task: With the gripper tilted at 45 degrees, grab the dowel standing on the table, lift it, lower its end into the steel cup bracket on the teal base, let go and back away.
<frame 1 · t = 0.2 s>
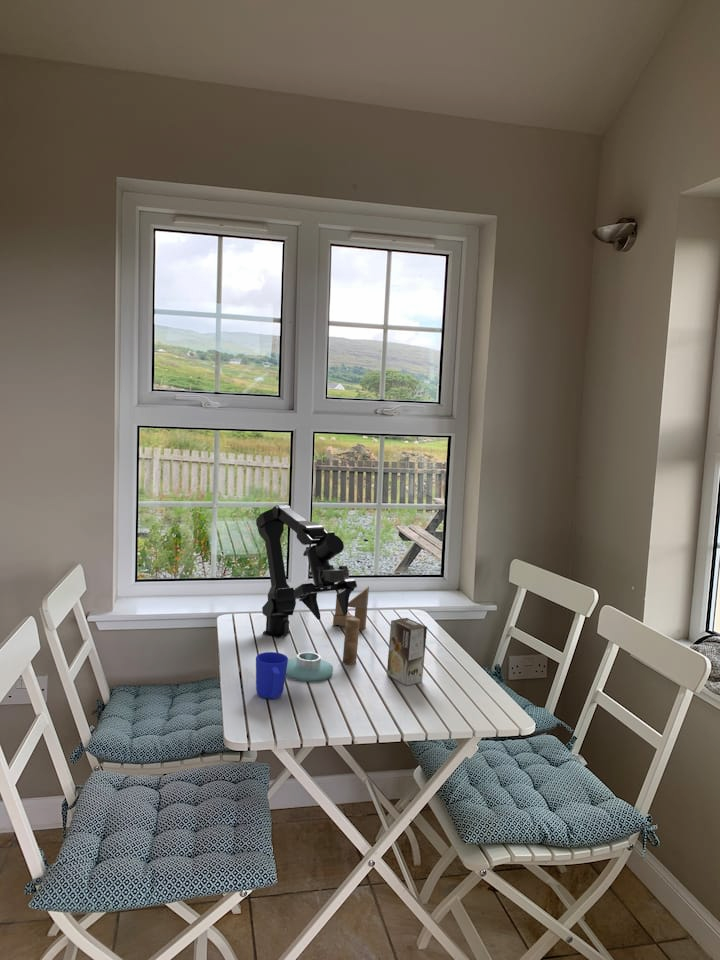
hand: (332, 617, 213), 15 cm above the table, tool tilted 35°, fingers open, 9 cm apart
coffee box: (404, 678, 211), on the table
mug: (270, 698, 191), on the table
dowel: (349, 662, 220), on the table
wooden block: (349, 626, 252), on the table
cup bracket: (307, 671, 210), on the table
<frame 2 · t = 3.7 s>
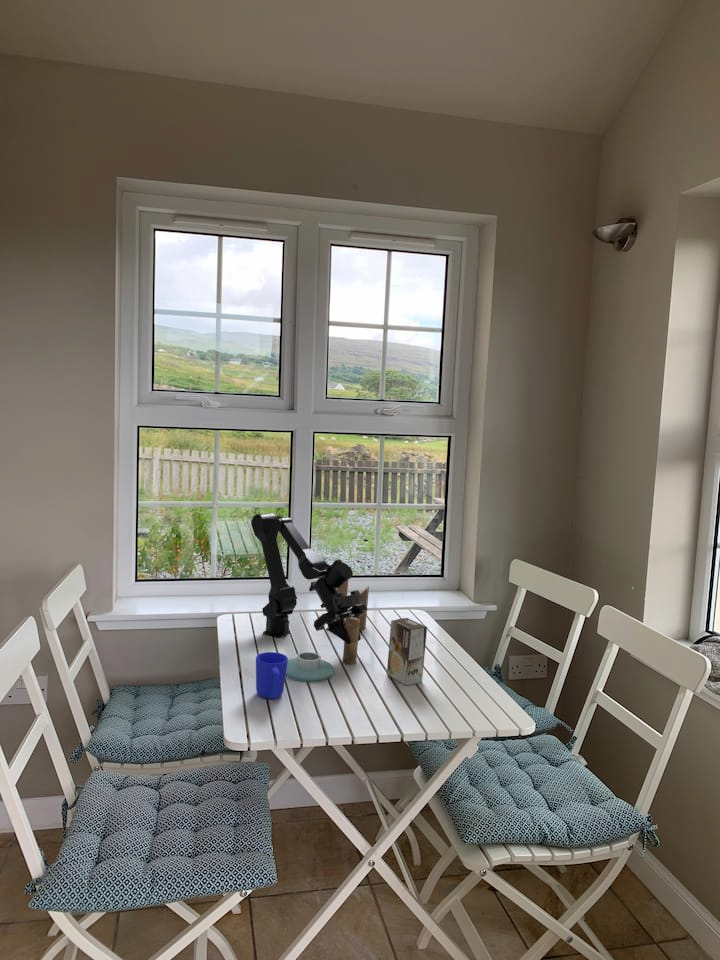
hand: (354, 641, 218), 7 cm above the table, tool tilted 45°, fingers closed on dowel, 4 cm apart
dowel: (349, 662, 220), on the table, touching gripper
everything else where it was.
when the fingers open (9 cm above the table, at t = 8.6 s): dowel stays where it is, resting on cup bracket.
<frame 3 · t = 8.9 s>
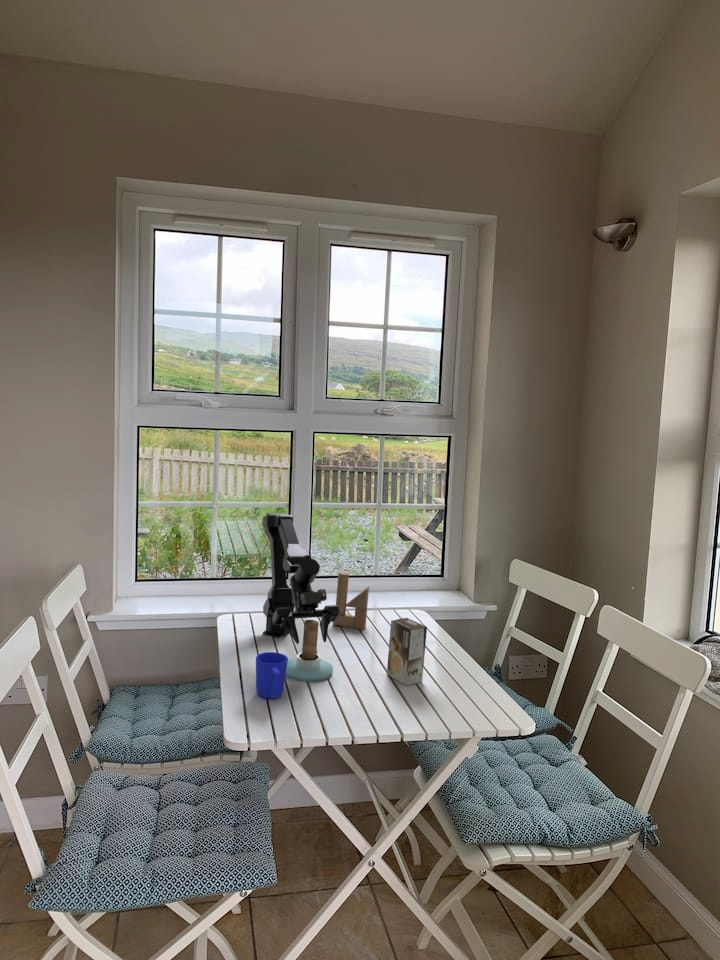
hand: (311, 642, 208), 9 cm above the table, tool tilted 45°, fingers open, 8 cm apart
dowel: (308, 666, 210), point 2 cm above the table, touching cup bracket
everything else where it was.
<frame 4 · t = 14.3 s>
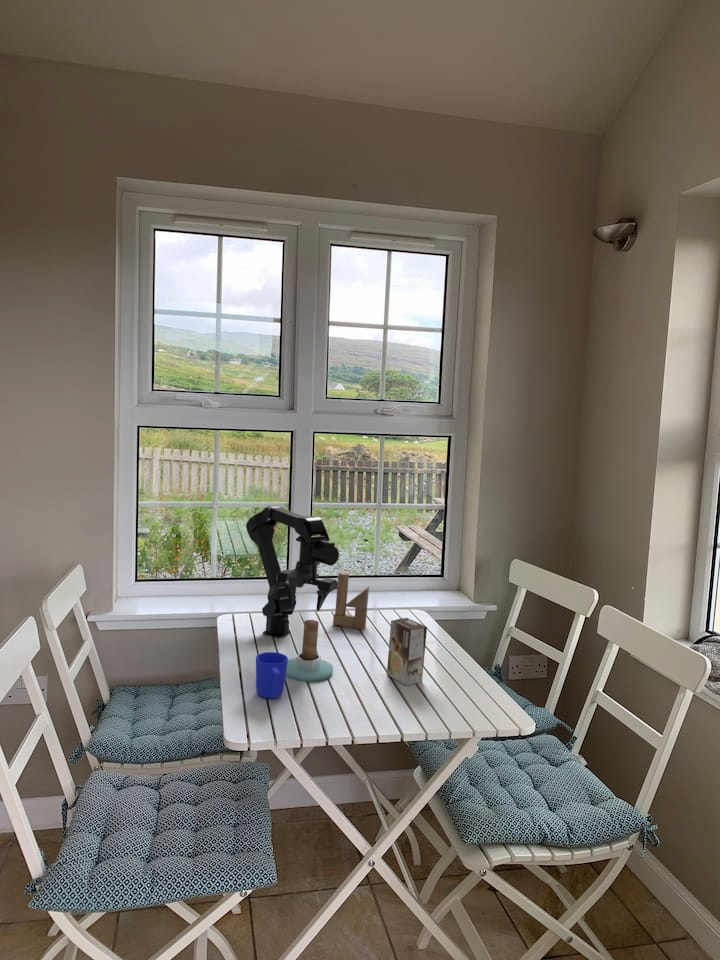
hand: (305, 607, 229), 12 cm above the table, tool pointing down, fingers open, 9 cm apart
nothing on the table moved.
at the end: dowel 0.0 cm off-centre on the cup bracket, point 1.5 cm above the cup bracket's base; dowel tilted 0°; the gripper is holding nothing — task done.
